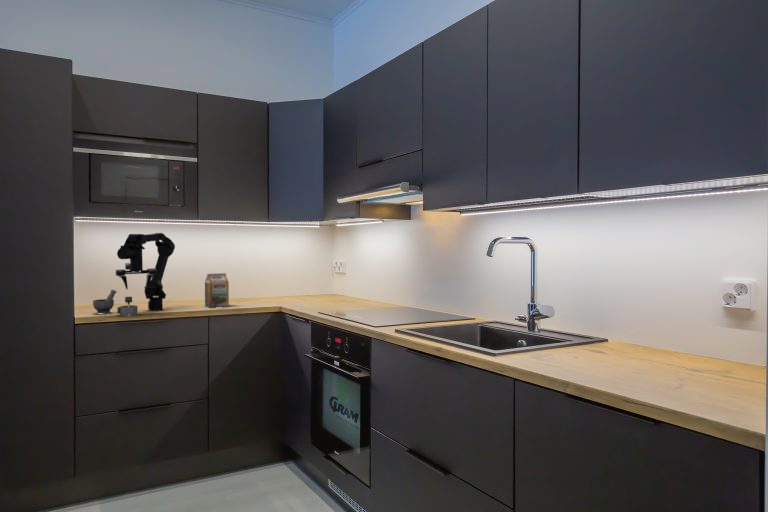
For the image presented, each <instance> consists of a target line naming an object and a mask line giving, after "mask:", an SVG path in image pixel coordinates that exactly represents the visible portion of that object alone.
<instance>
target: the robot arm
mask: <svg viewBox="0 0 768 512" xmlns="http://www.w3.org/2000/svg"><path fill="white" fill-rule="evenodd" d="M127 235H128V236H127V237H126V240H125V242H124V244H123V245H120V248H118V250H117V253H116V254H117V255H116V256H117V258H118V259H120V260H129V262H125V265H124V266H125V269H116V270H115V276H117V277H119V278H120V279H121V280H122V281H123V285H124V286H125V289H126V290H128V288H129V287H128V280H127V276H126V275H138V274H139V275H140V274H146V279H145V280H146V282H145V286H144V290H143V291H144V296H145V298H146V299H148V301H147V310H148V311H150V310H155V311H164V307H163V305H164V304H163V300H165V299H166V298H167V297H166V296H167V294H166V293H165V291H164V290H163V288H164V285H163V283H162V280H163V276H164V273H165V271H166V266H167V262H168V260H169V258H170V257H171V256H172V255H173V253H174V252H175V248H176V244H175V242H173V241H172V239H170V238H169V237H167V236H166V235H165V233H163V232H155V233H149V234H143V233H130V234H127ZM149 242H154V243H155V246H156V247H157V249H156V250H157V253H158V257H157V260H156V264H155V267H153V268H147V269H143V268H144V266H143V265H144V264H143V262H144V261H143V250H145V249H146V248H145V247H144V246H143V245H145V244H146V243H149ZM146 299H145V300H146Z"/></svg>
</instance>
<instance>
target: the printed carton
mask: <svg viewBox="0 0 768 512" xmlns="http://www.w3.org/2000/svg"><path fill="white" fill-rule="evenodd" d="M229 286H230V285H229V280H228V277H227V273H226V272H225V273H224V272H222V273H207V274H206V277H205V280H204V307H205V308H208V309H217V308H216V307H222V308H229V307H230V305H229V304H230V301H229V299H230V298H229V297H230V293H229V292H230V290H229Z"/></svg>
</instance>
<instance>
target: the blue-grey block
mask: <svg viewBox="0 0 768 512" xmlns="http://www.w3.org/2000/svg"><path fill="white" fill-rule="evenodd" d="M116 309H117V310H116V311H117V314H118V315H120V316H119V317H133V316H138V314H139V312H138V305H135V304H134V305H133V304H131V305H130V307H128V304H127V305H121V306H117V308H116Z"/></svg>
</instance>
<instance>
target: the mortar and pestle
mask: <svg viewBox="0 0 768 512" xmlns="http://www.w3.org/2000/svg"><path fill="white" fill-rule="evenodd" d="M115 294H117V290H115V289H111V290H110V293H109V294H108V296H107V297H106V298H102V299H101V298H100V299H94V300H93V299H92V305H93V308H94V309H95V310H96V314H97V313H110V314H111V310H112V309H113V307H114V305H115V304H114V303H115V299H114V297H115Z"/></svg>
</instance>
